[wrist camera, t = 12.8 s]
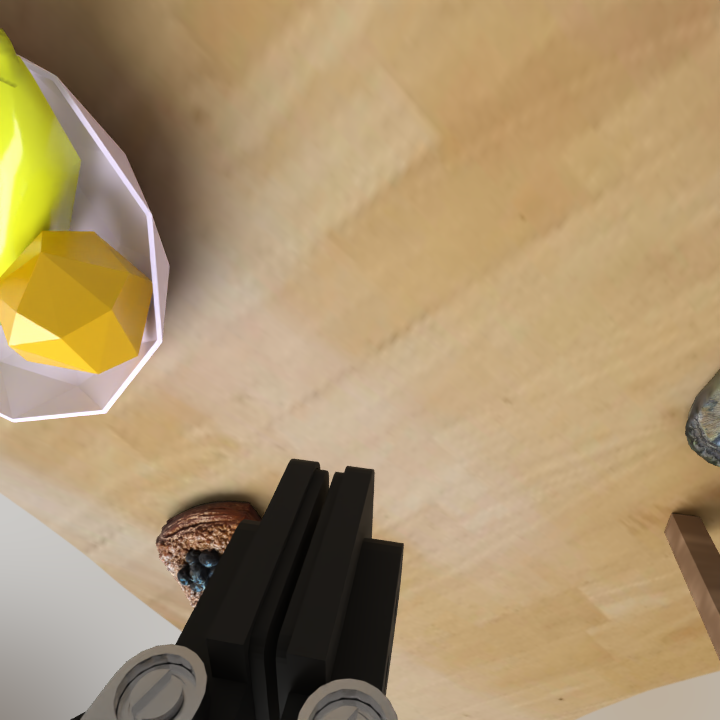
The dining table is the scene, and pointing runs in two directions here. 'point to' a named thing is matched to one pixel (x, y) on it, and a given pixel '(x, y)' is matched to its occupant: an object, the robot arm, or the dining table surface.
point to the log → (706, 422)
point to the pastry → (200, 542)
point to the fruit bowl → (69, 254)
